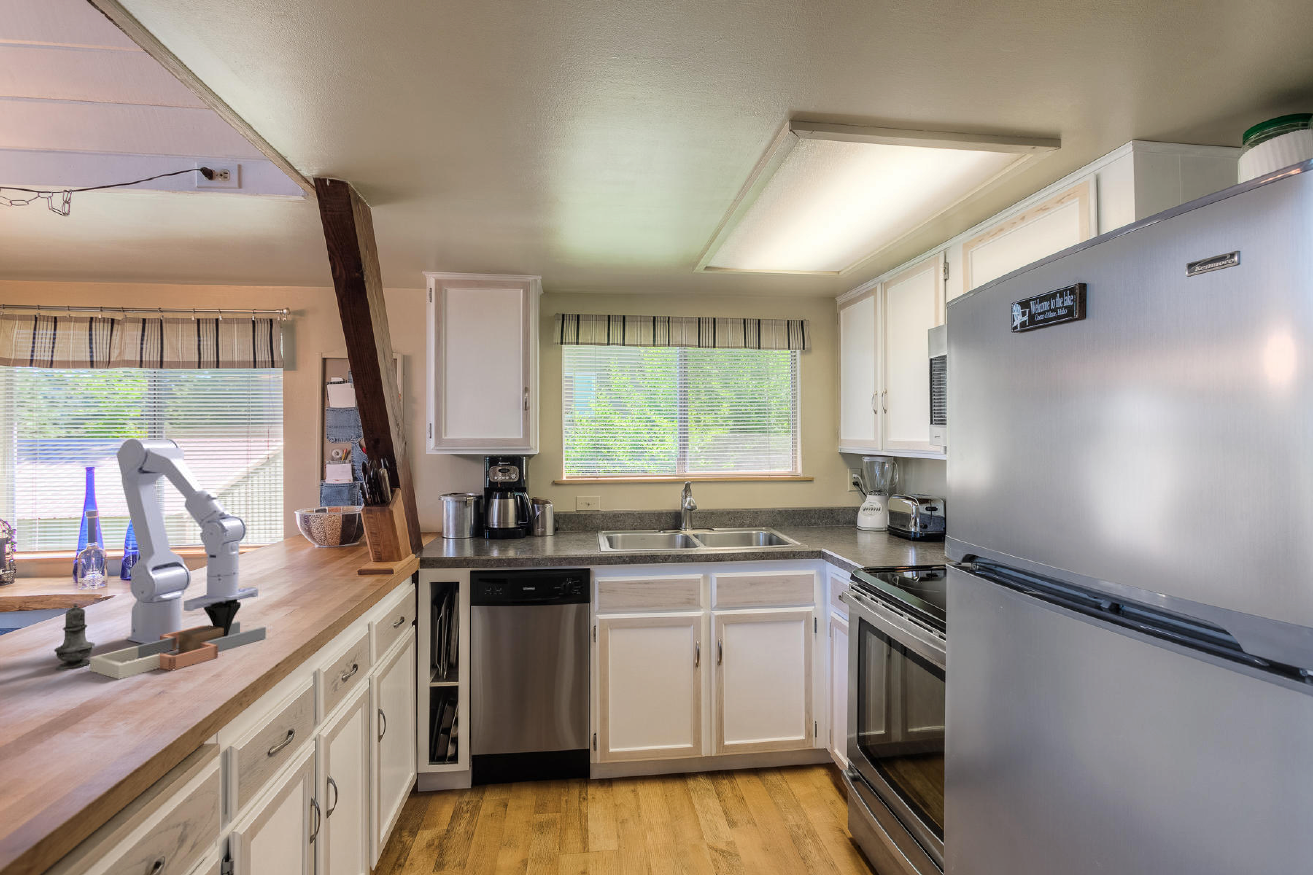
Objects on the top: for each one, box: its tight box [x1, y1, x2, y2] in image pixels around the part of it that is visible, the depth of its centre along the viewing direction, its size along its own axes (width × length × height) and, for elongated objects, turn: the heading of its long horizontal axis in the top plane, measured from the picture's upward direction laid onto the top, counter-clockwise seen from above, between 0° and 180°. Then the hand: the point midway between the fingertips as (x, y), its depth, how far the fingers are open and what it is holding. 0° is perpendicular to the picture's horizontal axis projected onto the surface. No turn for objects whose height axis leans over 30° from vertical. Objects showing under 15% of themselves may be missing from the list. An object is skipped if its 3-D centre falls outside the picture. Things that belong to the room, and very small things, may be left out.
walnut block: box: [177, 625, 224, 654], centre depth 136 cm, size 5×6×4 cm
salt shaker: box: [53, 603, 96, 671], centre depth 126 cm, size 6×6×12 cm
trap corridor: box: [89, 621, 267, 680], centre depth 133 cm, size 17×28×2 cm, turn 155°
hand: (221, 636), depth 140 cm, fingers closed
